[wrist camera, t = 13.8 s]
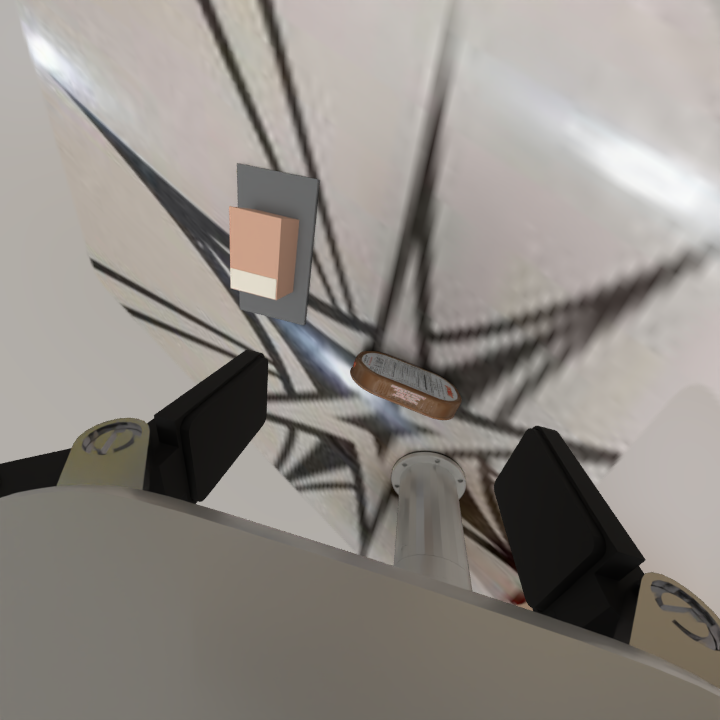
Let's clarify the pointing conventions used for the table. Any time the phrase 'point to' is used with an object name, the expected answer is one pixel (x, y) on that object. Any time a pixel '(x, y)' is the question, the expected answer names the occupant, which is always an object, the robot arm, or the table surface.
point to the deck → (262, 252)
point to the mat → (300, 203)
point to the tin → (406, 385)
